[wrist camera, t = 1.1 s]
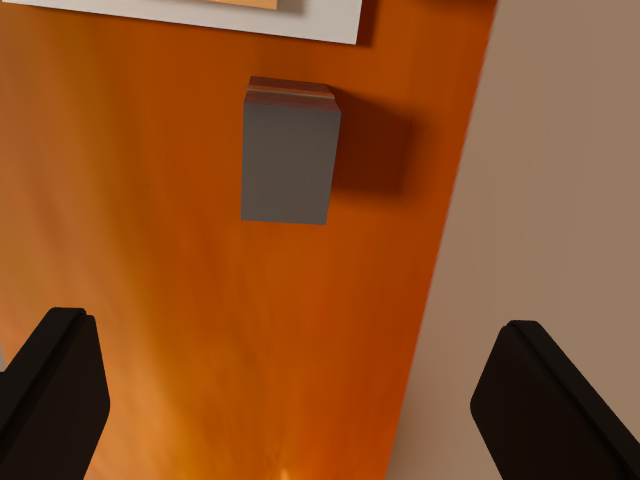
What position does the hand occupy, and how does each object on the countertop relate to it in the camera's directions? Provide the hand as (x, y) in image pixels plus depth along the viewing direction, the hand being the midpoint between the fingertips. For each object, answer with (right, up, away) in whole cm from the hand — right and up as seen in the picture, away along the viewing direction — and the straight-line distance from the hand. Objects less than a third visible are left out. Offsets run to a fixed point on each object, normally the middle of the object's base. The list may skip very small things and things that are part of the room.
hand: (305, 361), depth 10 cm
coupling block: (-2, +10, +17) cm, 20 cm away
